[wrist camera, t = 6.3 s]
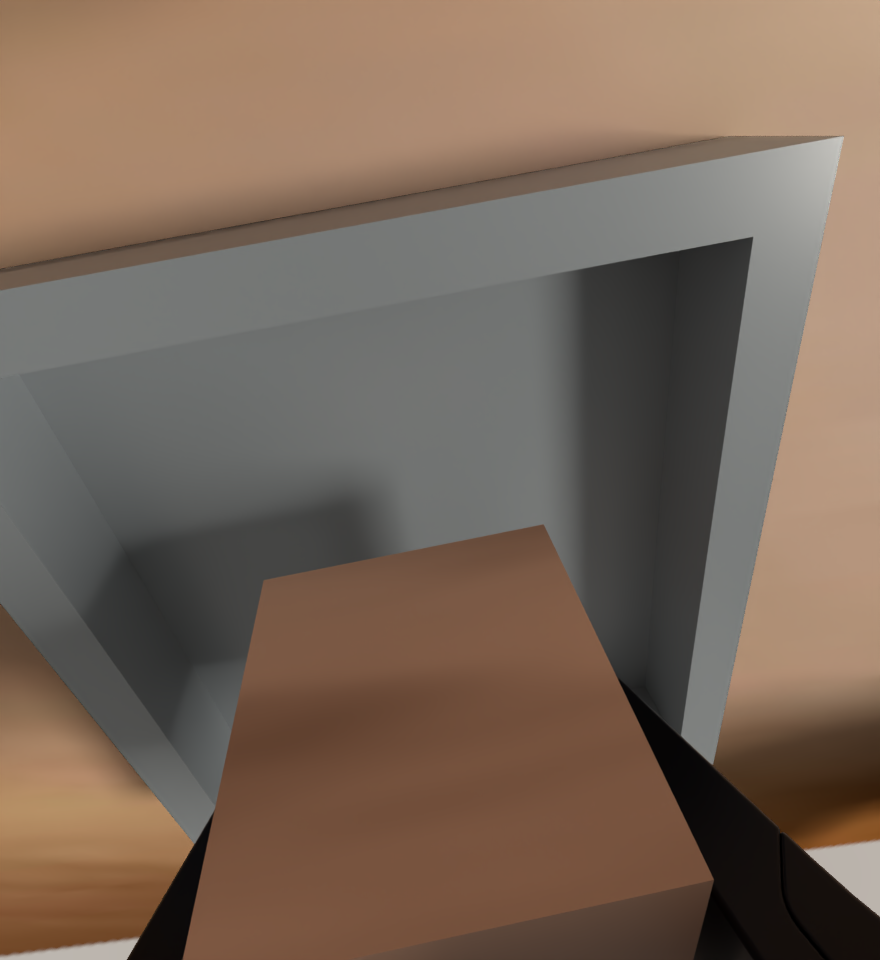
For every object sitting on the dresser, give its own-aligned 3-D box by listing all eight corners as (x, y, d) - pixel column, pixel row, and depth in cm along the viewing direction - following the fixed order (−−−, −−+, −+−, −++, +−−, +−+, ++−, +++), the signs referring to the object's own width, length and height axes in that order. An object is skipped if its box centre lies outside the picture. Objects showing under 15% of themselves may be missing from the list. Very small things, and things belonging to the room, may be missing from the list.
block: (554, 699, 11) (672, 1039, 7) (335, 744, 11) (320, 1117, 7) (543, 524, 9) (713, 878, 5) (263, 580, 9) (173, 998, 4)
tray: (667, 684, 16) (713, 764, 14) (234, 774, 16) (215, 870, 14) (729, 136, 9) (843, 136, 7) (-79, 283, 9) (-220, 330, 7)
